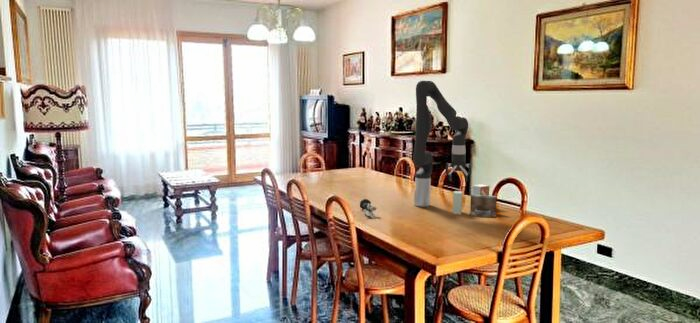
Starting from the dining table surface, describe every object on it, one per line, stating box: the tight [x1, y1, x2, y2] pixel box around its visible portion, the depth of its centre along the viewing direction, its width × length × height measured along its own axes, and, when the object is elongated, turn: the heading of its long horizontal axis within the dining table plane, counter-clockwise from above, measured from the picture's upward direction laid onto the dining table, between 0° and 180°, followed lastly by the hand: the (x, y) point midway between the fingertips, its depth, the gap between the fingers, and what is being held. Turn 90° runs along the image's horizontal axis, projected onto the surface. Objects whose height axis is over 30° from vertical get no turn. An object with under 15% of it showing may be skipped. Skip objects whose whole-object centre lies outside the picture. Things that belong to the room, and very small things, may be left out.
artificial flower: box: [359, 198, 378, 219], centre depth 269 cm, size 9×22×10 cm, turn 1°
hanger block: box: [452, 190, 463, 215], centre depth 270 cm, size 4×6×12 cm
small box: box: [471, 183, 490, 196], centre depth 286 cm, size 8×6×13 cm
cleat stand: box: [468, 194, 497, 218], centre depth 266 cm, size 14×11×10 cm
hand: (458, 181), depth 269 cm, fingers open, 8 cm apart
